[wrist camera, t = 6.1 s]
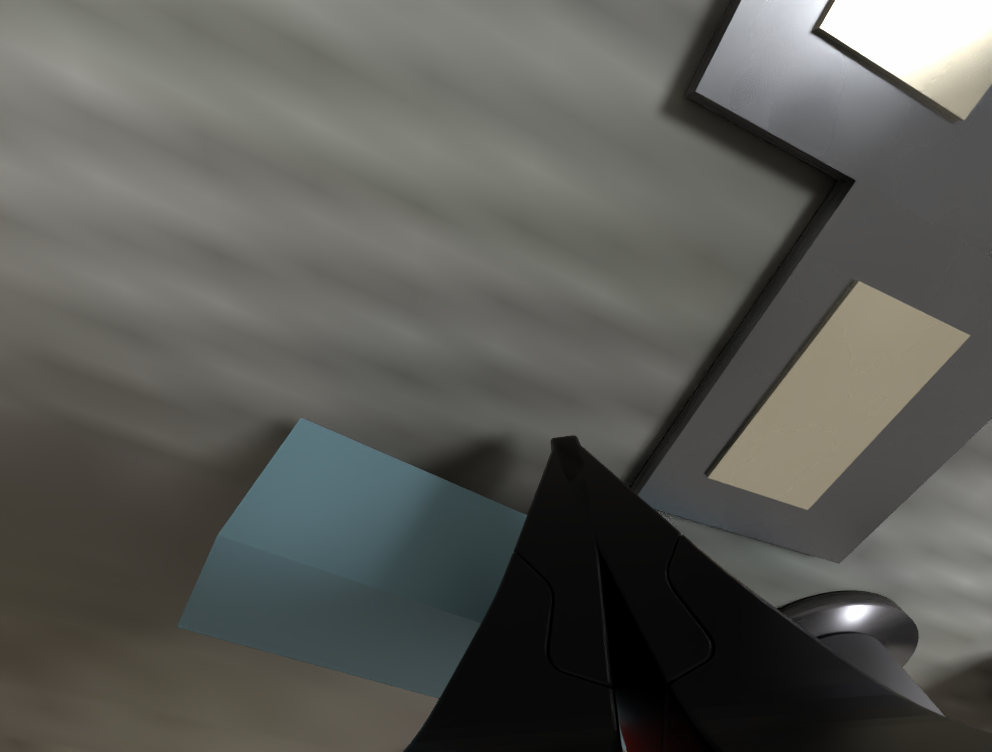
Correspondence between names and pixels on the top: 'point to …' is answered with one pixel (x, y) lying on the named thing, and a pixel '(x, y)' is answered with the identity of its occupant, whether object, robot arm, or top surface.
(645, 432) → the top surface
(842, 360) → the label plate
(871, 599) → the pivot base
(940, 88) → the label plate
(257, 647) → the swing bar
